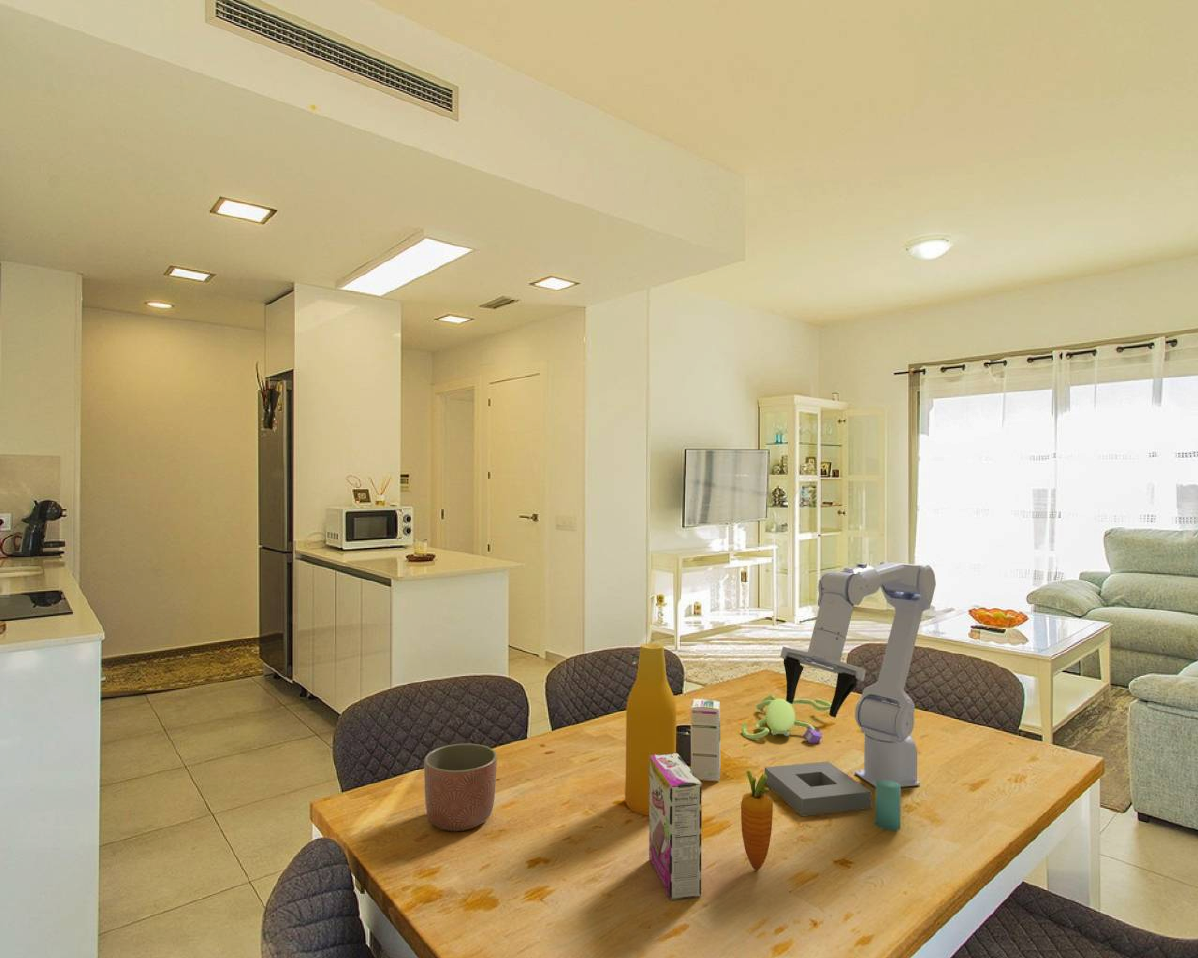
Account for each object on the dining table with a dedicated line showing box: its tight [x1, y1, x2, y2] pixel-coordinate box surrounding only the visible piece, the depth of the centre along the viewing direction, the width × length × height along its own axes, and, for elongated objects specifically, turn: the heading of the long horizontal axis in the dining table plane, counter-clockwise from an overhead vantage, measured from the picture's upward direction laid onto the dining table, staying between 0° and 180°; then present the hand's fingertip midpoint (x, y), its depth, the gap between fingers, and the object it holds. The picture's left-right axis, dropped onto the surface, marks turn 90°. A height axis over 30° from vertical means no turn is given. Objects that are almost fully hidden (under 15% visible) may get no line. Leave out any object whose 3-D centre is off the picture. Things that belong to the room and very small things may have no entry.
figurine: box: [741, 694, 832, 744], centre depth 168 cm, size 18×27×6 cm
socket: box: [764, 760, 872, 817], centre depth 131 cm, size 14×14×3 cm
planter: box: [423, 743, 498, 832], centre depth 119 cm, size 12×12×11 cm
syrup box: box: [690, 698, 721, 782], centre depth 139 cm, size 6×6×14 cm
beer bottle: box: [624, 642, 677, 816], centre depth 126 cm, size 9×9×29 cm
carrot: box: [740, 770, 774, 872], centre depth 105 cm, size 5×5×15 cm
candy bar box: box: [648, 752, 703, 901], centre depth 102 cm, size 11×5×16 cm, turn 12°
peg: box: [874, 779, 902, 831], centre depth 119 cm, size 4×4×7 cm
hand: (810, 709), depth 121 cm, fingers open, 7 cm apart
